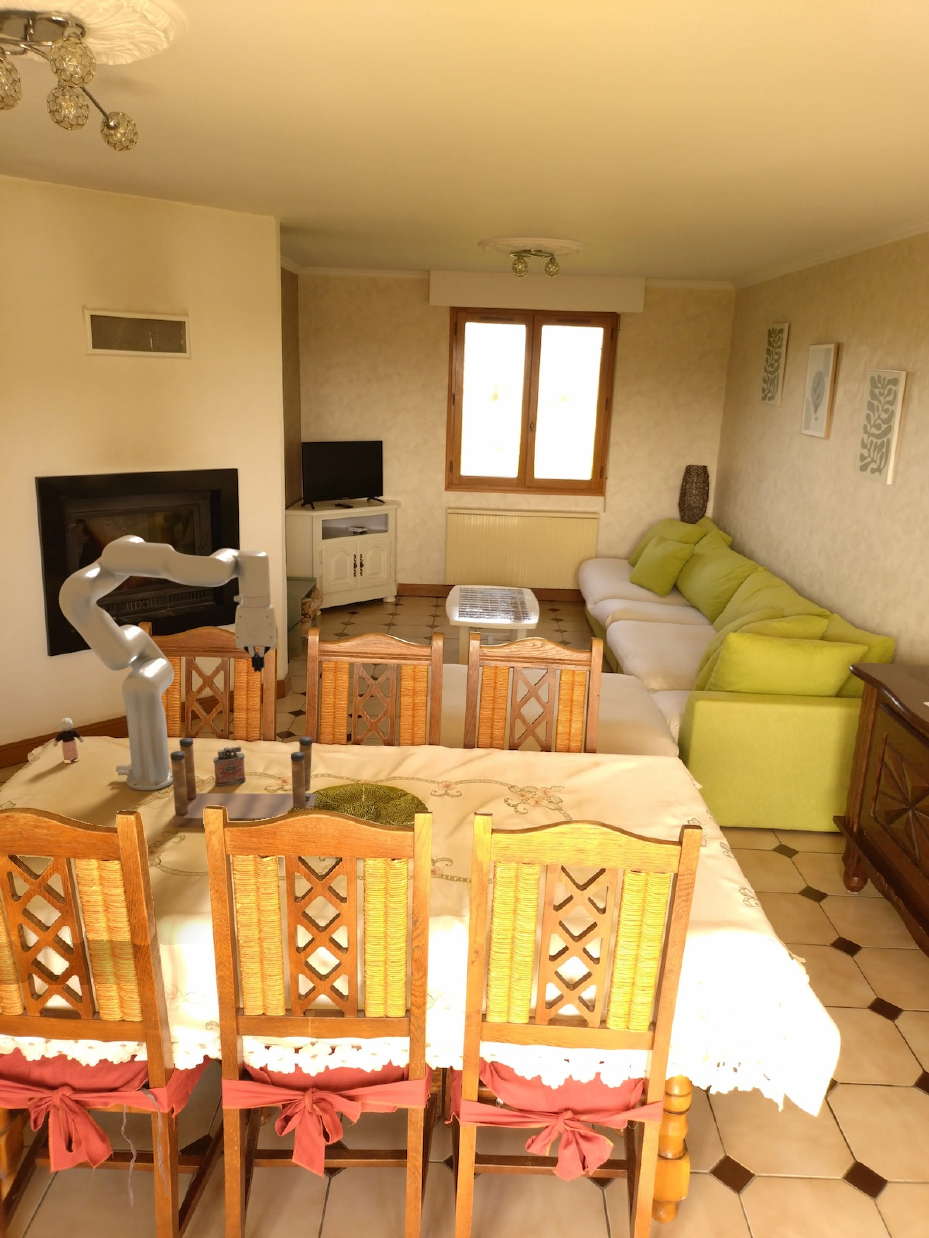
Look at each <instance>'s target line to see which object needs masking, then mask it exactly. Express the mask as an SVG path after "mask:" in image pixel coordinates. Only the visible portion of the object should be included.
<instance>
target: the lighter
mask: <svg viewBox="0 0 929 1238" xmlns="http://www.w3.org/2000/svg"><path fill="white" fill-rule="evenodd" d="M217 755H218V756H216V757H213V764H214V777H215V781H214V786H215V787H216V788H224V787H231V786H236V785H240V784H242V783H243V784H244V783H245V782H246V774H245V773H246V772H245V754H244V753H243V752H242V747H241V746H239V745H237V746H233V747H232V746H231V748H229V747H228V746H226V747H224V748H223V749H218V750H217Z"/></svg>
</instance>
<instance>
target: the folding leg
mask: <svg viewBox="0 0 929 1238" xmlns="http://www.w3.org/2000/svg"><path fill="white" fill-rule="evenodd" d="M298 743H299V748H298V750H299V751H298V752H303V753H304V771H305V793H307V792H309V791H310V789H311V777H312V776H311V775H312V773H311V772H312V753H313V752H312V748H313V738H312V737H310V736H302V737H299V740H298Z"/></svg>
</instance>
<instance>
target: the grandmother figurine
mask: <svg viewBox="0 0 929 1238" xmlns="http://www.w3.org/2000/svg"><path fill="white" fill-rule="evenodd" d="M73 724H74V723H73V720H72V718H69V717H64V718H62V719H61V720H60V722H59V727H60V729H62V730H63V731H61V732H60V733H58V734H57V735H56V737H55V738H54V742H53V744H52V745H53V747H57V746H58V743H59V742H61V748H62V749H61V750H62V755H63V761H64V760H70V759H71V760H73V758H74V760H76V759H78V757H80V755H79V749H78V745H77V741H76V739H75V738H77V739H78V741H79V742H80V743H84V739H83V737H82V736H81V734H80V733H79V732H78V731H77V730H75V729H73Z"/></svg>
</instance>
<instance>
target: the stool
mask: <svg viewBox="0 0 929 1238" xmlns="http://www.w3.org/2000/svg"><path fill="white" fill-rule="evenodd" d="M179 747H180V748H179V749H180V750H175V751H172V752H171V753H170V755H169V756H170V760H171V761H170V762H171V769H172V776H173V783H172V788H173V803H174V813H175V815H174V816H173V827H174V828H205V827H204V824H203V809H204V808H205V807H206V806H207V805H219V806H224V807H226V808H227V811H228V819H229V821H255V820H261V819H266V818H272V817H276V816H278V815H281V814H286V813H287V812H288V811H289V810H291V809H292V808H299V809H303V808H314V807H309V806H314V804H315V801H316V797H317V798H318V794H317V793H310V792H305V771H304V753H303V752H299V751H294V752H292V753H291V754H290V759H291V760H290V763H291V782H292V785H291V786H292V793H239V792H237V793H229V792H228V793H217V792H215V793H214V792H213V793H212V792H211V793H208V792H207V793H202V792H201V793H200V792H197V785H196V772H195V760H194V759H195V758H194V755H195V754H194V739H193V738H191V737H183V738H180V739H179Z"/></svg>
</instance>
